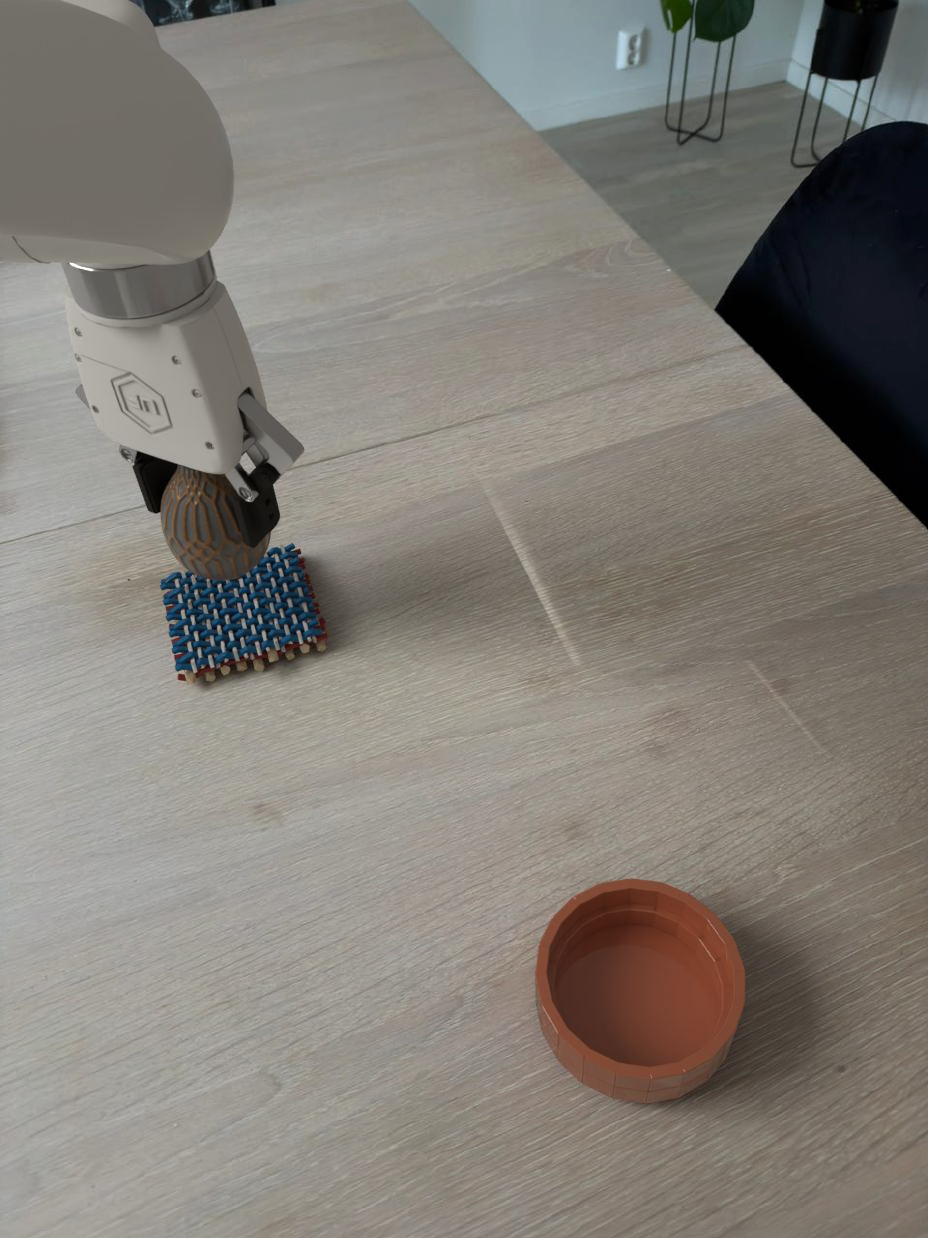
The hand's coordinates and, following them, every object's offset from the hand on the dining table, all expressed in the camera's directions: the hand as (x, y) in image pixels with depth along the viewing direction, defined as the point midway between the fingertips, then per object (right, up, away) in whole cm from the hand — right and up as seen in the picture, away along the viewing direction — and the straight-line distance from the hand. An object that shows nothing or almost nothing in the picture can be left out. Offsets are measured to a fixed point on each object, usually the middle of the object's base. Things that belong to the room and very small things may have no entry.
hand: (214, 514), depth 70 cm
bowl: (+25, -27, -12) cm, 39 cm away
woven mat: (+1, -7, +8) cm, 10 cm away
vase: (0, -3, +3) cm, 4 cm away
